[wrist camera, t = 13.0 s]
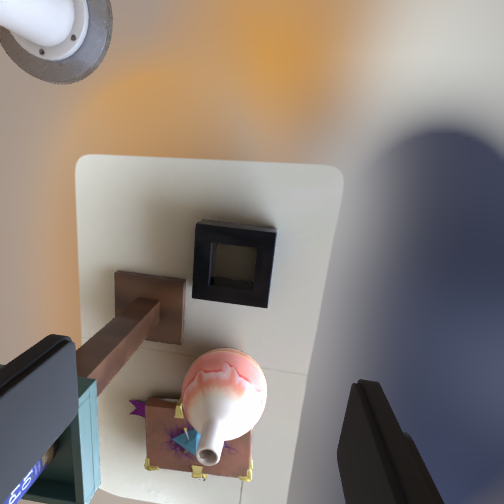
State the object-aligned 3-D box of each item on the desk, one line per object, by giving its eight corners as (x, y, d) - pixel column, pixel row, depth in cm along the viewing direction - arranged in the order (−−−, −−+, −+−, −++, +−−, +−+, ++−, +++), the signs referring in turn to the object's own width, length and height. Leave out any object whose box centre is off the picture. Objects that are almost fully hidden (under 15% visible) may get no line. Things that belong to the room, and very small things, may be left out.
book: (130, 386, 58) (116, 404, 53) (256, 398, 56) (254, 418, 51) (133, 456, 62) (121, 479, 57) (252, 470, 60) (250, 495, 55)
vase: (268, 401, 55) (263, 502, 38) (196, 398, 57) (160, 495, 40) (267, 335, 52) (260, 413, 35) (190, 333, 53) (148, 408, 36)
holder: (202, 219, 48) (195, 223, 44) (277, 227, 47) (276, 232, 43) (198, 288, 51) (191, 298, 47) (268, 298, 50) (267, 308, 46)
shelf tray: (-32, 359, 27) (-63, 377, 24) (96, 379, 26) (77, 399, 24) (-14, 462, 30) (-40, 488, 27) (100, 483, 29) (84, 511, 27)
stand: (118, 270, 51) (-32, 359, 27) (186, 279, 51) (96, 379, 26) (119, 332, 54) (-14, 462, 30) (183, 341, 54) (100, 483, 29)
